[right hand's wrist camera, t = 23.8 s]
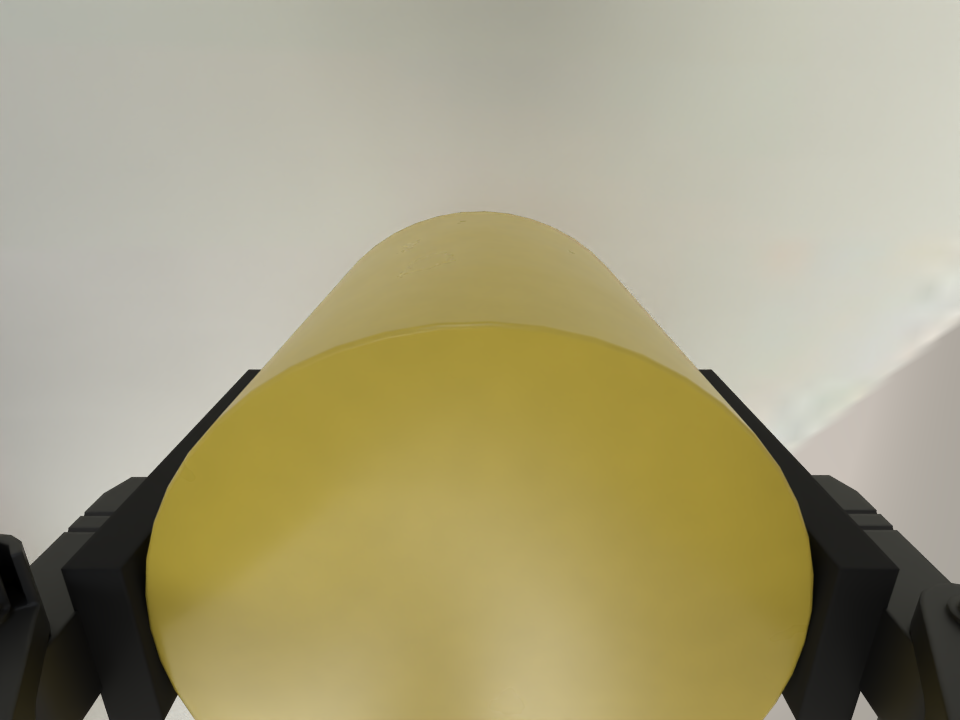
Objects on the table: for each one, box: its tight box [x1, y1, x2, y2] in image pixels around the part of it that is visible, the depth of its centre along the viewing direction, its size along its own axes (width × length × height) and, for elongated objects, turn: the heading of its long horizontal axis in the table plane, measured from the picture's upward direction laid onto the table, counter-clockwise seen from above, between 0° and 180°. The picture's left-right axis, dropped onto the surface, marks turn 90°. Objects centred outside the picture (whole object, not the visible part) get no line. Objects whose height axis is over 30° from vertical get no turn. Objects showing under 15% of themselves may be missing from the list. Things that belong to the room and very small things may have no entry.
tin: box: [145, 211, 814, 720], centre depth 12 cm, size 9×9×9 cm
